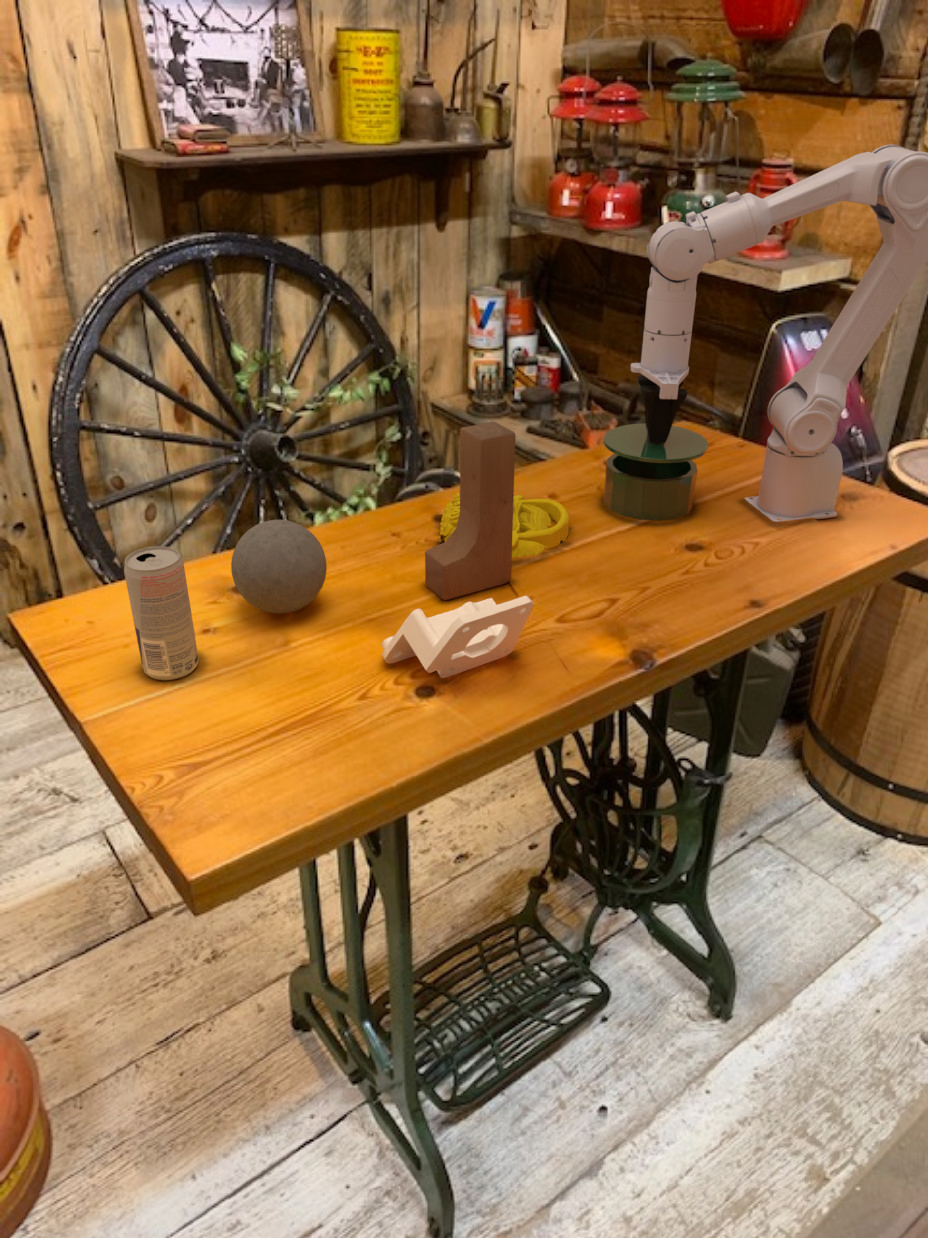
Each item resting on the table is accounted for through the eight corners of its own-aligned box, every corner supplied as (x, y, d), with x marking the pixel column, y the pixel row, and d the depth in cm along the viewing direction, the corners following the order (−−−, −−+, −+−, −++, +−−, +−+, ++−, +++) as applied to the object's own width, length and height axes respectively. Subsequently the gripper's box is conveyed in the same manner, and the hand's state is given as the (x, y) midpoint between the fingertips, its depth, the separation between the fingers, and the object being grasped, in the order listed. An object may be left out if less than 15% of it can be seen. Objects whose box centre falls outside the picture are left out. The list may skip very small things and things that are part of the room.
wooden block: (443, 602, 109) (442, 447, 99) (424, 585, 112) (421, 433, 103) (512, 583, 112) (517, 432, 103) (491, 567, 116) (494, 419, 107)
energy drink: (177, 646, 100) (159, 540, 94) (210, 664, 97) (194, 556, 91) (132, 668, 97) (110, 559, 91) (165, 688, 94) (145, 577, 88)
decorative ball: (309, 636, 102) (302, 549, 97) (221, 624, 104) (209, 539, 99) (342, 591, 111) (336, 509, 106) (259, 581, 113) (250, 500, 108)
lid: (678, 427, 134) (682, 394, 131) (726, 461, 123) (731, 427, 120) (587, 436, 130) (589, 402, 128) (628, 472, 119) (631, 436, 117)
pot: (667, 485, 138) (672, 445, 135) (707, 518, 128) (713, 476, 125) (590, 493, 135) (593, 452, 132) (624, 528, 125) (628, 485, 122)
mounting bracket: (404, 702, 95) (427, 635, 87) (375, 653, 98) (394, 584, 90) (506, 666, 101) (536, 600, 93) (475, 620, 104) (501, 552, 96)
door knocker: (591, 539, 123) (593, 508, 121) (491, 574, 114) (492, 541, 112) (506, 496, 134) (507, 467, 132) (409, 526, 126) (409, 495, 123)
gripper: (630, 314, 125) (621, 417, 132) (639, 344, 113) (628, 456, 120) (686, 315, 125) (674, 419, 132) (701, 346, 112) (687, 458, 119)
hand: (656, 437), depth 126 cm, fingers closed on lid, 2 cm apart
